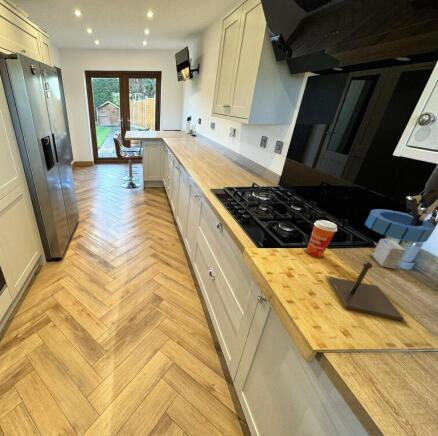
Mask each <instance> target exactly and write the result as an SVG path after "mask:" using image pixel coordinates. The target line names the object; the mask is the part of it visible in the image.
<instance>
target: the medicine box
mask: <svg viewBox="0 0 438 436" xmlns="http://www.w3.org/2000/svg"><path fill="white" fill-rule="evenodd" d="M406 251H407V250H406V249H405V248H403V246H402V245H400V244H399V243H398V242H397V241H396V240H393V239H388V238H380V239H379V241H378V243H377V245H376V247H375V248H374V250H373V252H372V254H371V256H372V257H373V259H374V260H375V261H376V262H377V263H378V264H379V265H380V266H381V267H382V268H388V269H393V270H394V269H395V270H396V268H397V267H398V264H399V263H400V261H401V260H402V258H403V257H404V254H405V253H406Z"/></svg>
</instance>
